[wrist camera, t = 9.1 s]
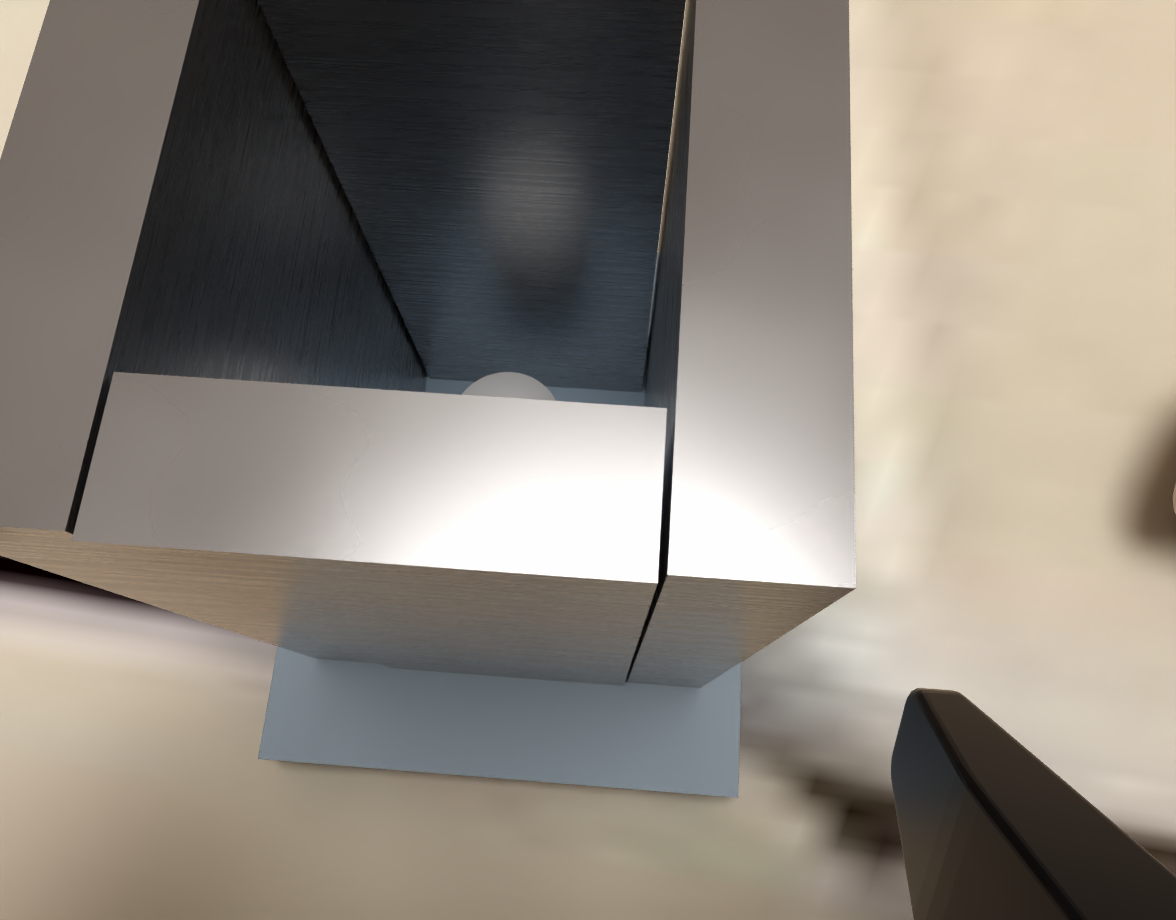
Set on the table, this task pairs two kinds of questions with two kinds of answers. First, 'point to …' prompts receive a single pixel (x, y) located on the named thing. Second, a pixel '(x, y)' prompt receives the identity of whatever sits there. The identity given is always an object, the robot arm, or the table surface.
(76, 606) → the table surface
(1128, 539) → the table surface
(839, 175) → the open metal box
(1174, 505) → the fossil
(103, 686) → the table surface
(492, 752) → the shaft stand
